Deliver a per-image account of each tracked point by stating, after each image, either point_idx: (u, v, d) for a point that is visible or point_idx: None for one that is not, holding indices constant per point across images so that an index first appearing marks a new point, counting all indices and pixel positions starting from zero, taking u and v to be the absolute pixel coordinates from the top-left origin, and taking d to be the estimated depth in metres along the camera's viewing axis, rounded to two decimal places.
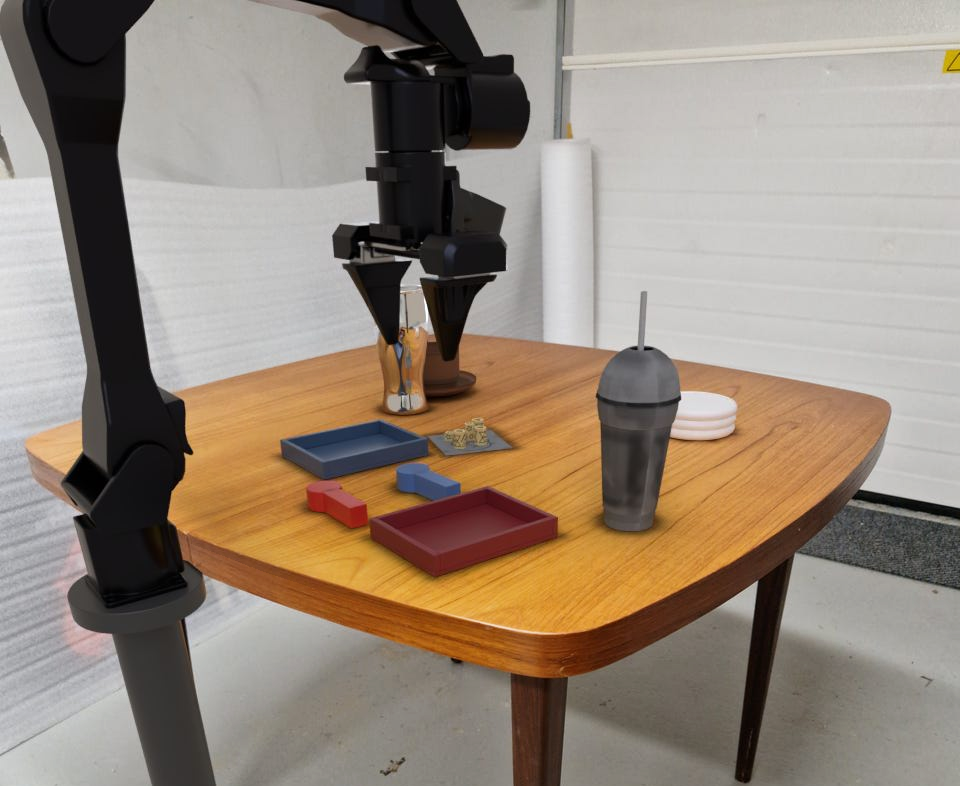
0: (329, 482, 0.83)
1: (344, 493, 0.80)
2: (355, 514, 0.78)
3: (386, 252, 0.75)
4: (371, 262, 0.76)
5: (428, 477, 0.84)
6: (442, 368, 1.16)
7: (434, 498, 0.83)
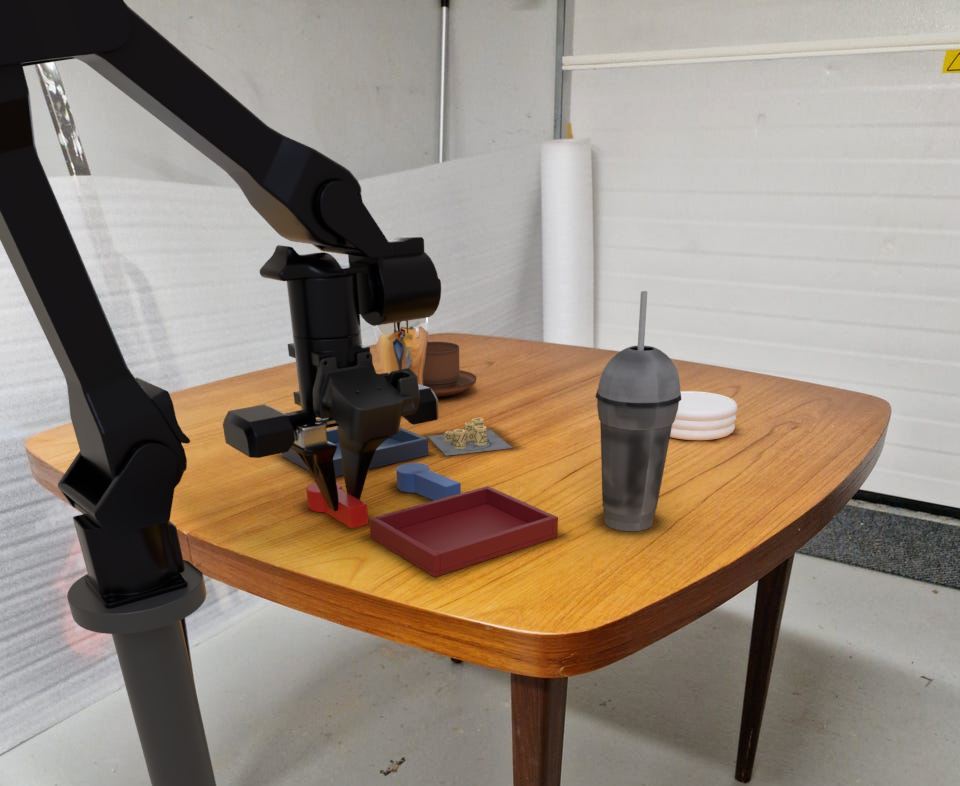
0: None
1: (344, 493, 0.80)
2: (355, 514, 0.78)
3: None
4: None
5: (428, 477, 0.84)
6: (442, 368, 1.16)
7: (434, 498, 0.83)
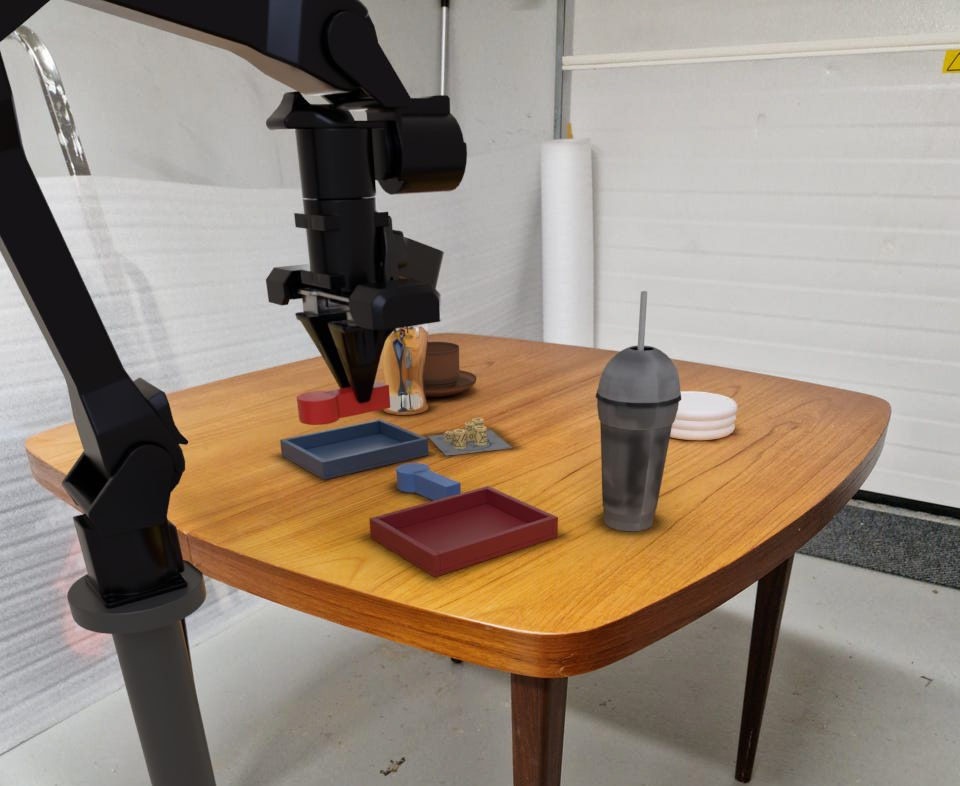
0: (305, 394, 0.72)
1: (344, 388, 0.74)
2: None
3: None
4: (326, 312, 0.71)
5: (428, 477, 0.84)
6: (442, 368, 1.16)
7: (434, 498, 0.83)
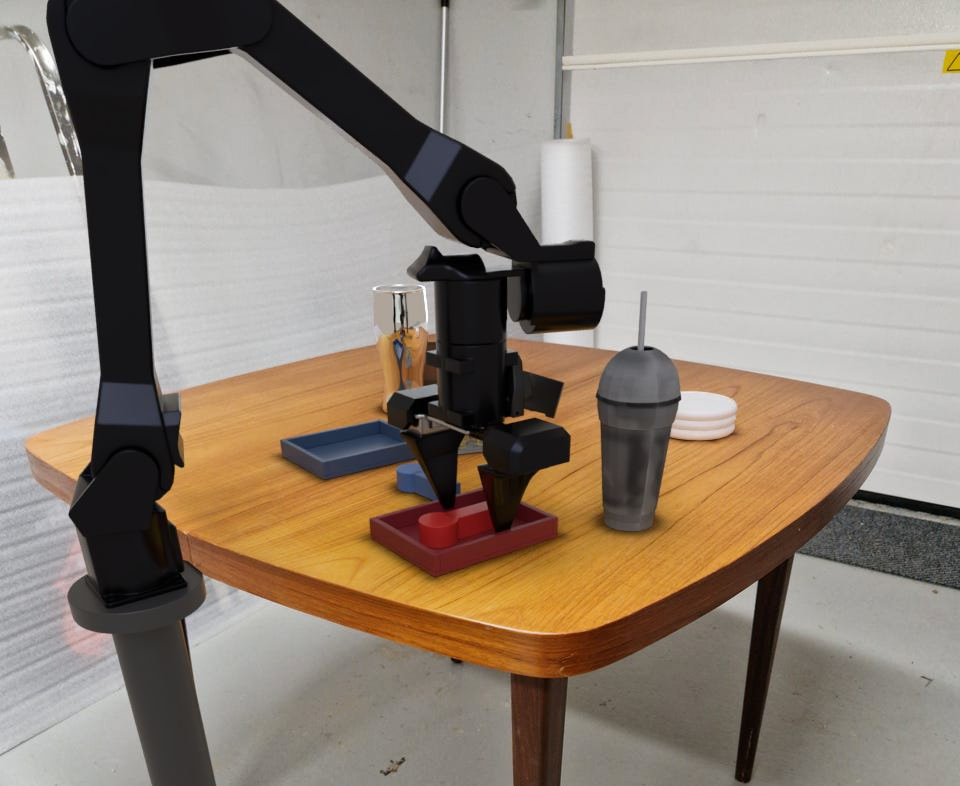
0: (426, 517, 0.74)
1: (462, 509, 0.75)
2: None
3: None
4: (430, 432, 0.75)
5: None
6: None
7: (434, 498, 0.83)
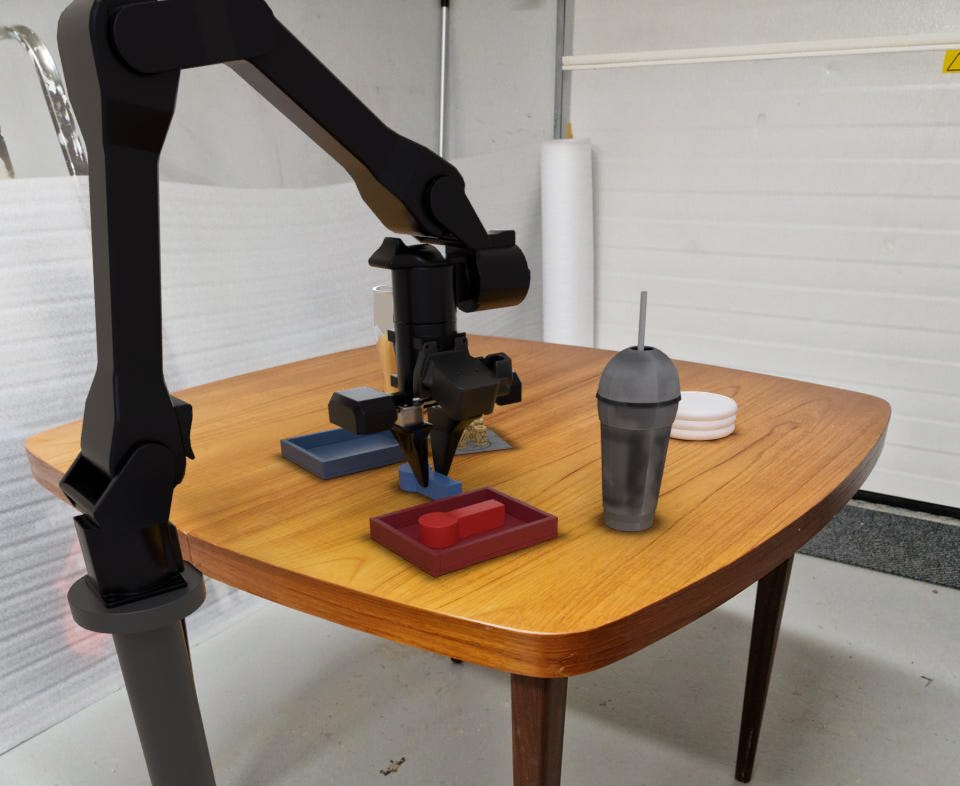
0: (426, 517, 0.74)
1: (462, 509, 0.75)
2: None
3: None
4: (439, 407, 0.83)
5: (430, 476, 0.84)
6: None
7: (435, 497, 0.84)
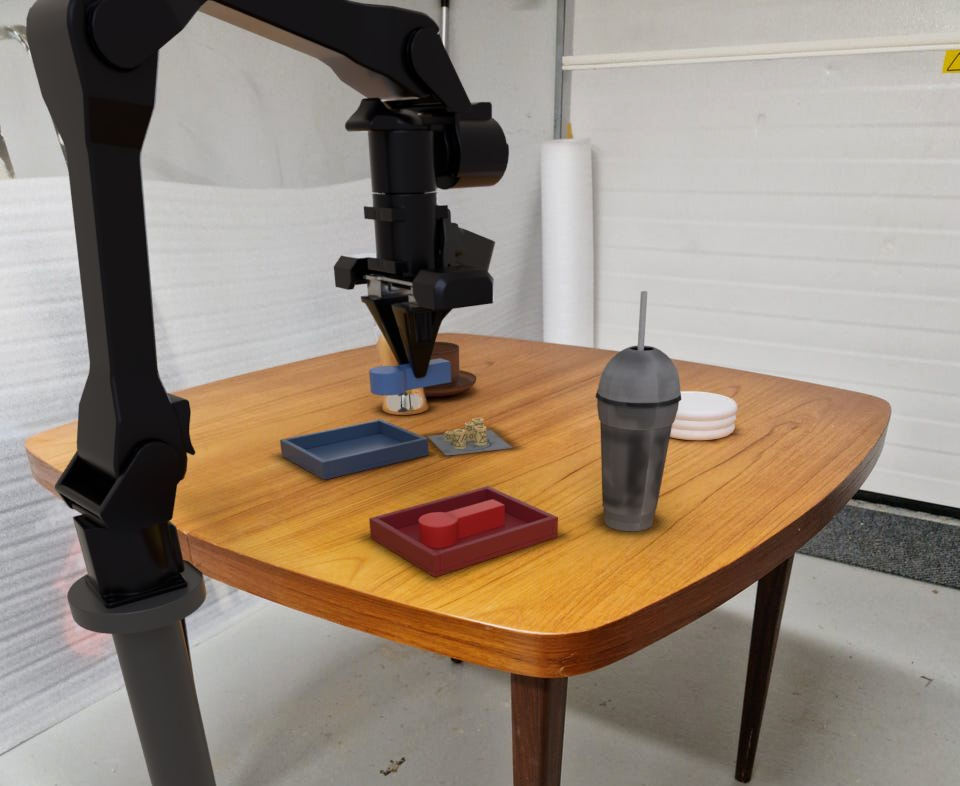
0: (426, 517, 0.74)
1: (462, 509, 0.75)
2: None
3: None
4: (389, 296, 0.79)
5: None
6: None
7: (434, 382, 0.83)
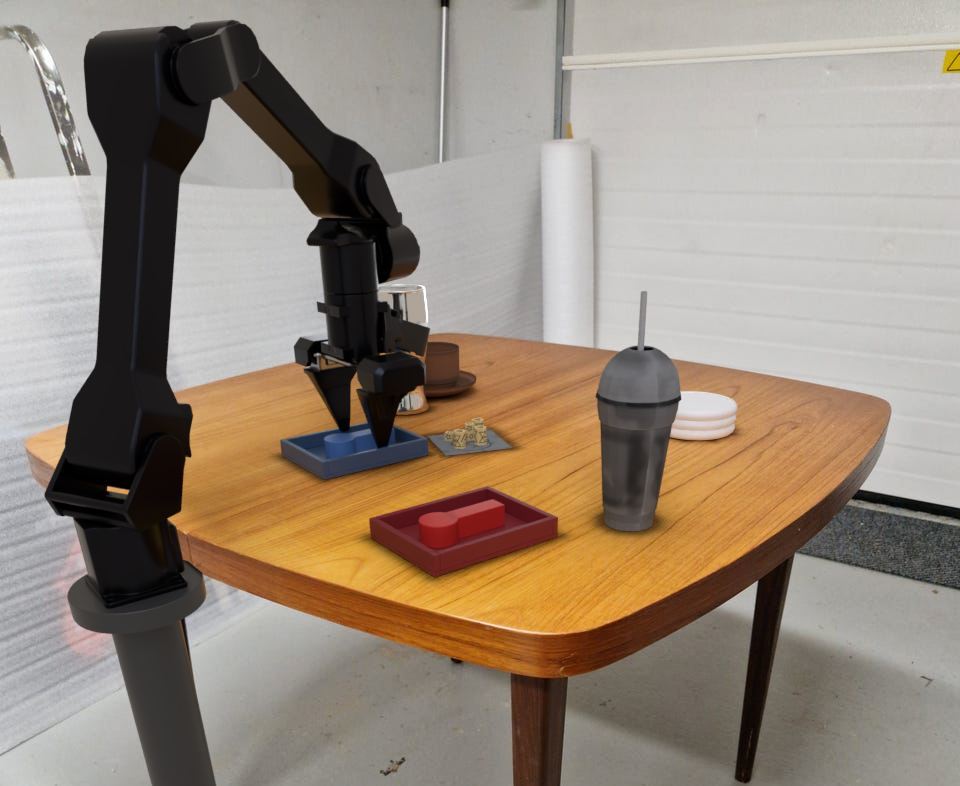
0: (426, 517, 0.74)
1: (462, 509, 0.75)
2: None
3: None
4: (326, 368, 0.96)
5: (367, 433, 0.96)
6: (442, 368, 1.16)
7: None
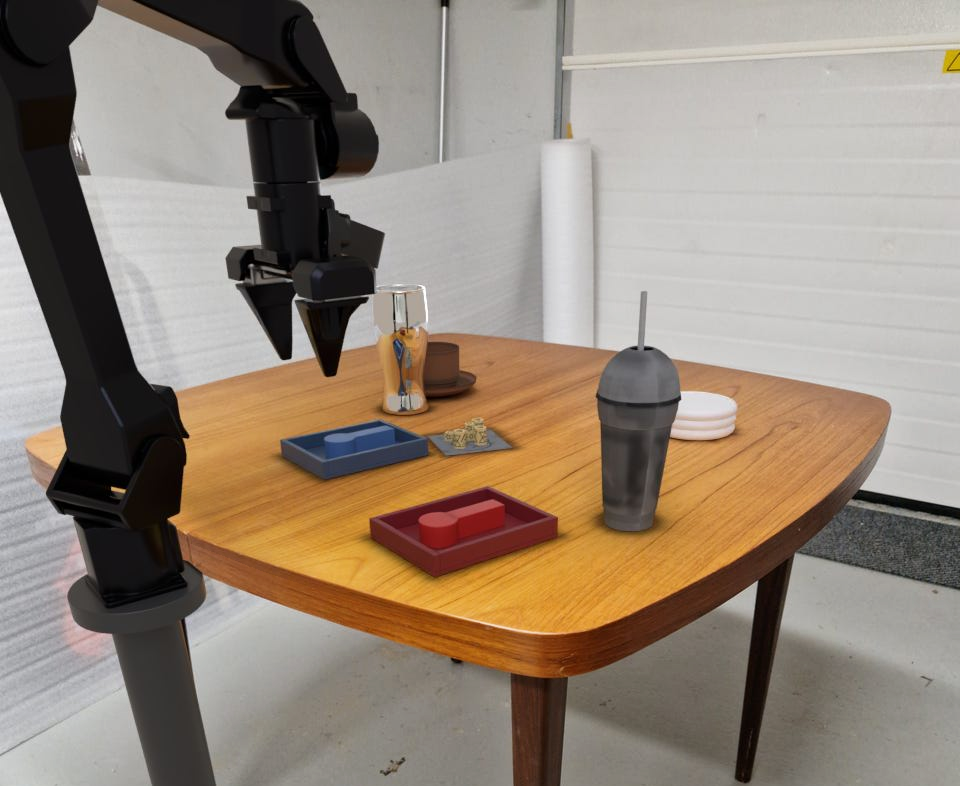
0: (426, 517, 0.74)
1: (462, 509, 0.75)
2: None
3: (274, 274, 0.80)
4: (262, 283, 0.81)
5: (367, 433, 0.96)
6: (442, 368, 1.16)
7: (381, 446, 0.97)
